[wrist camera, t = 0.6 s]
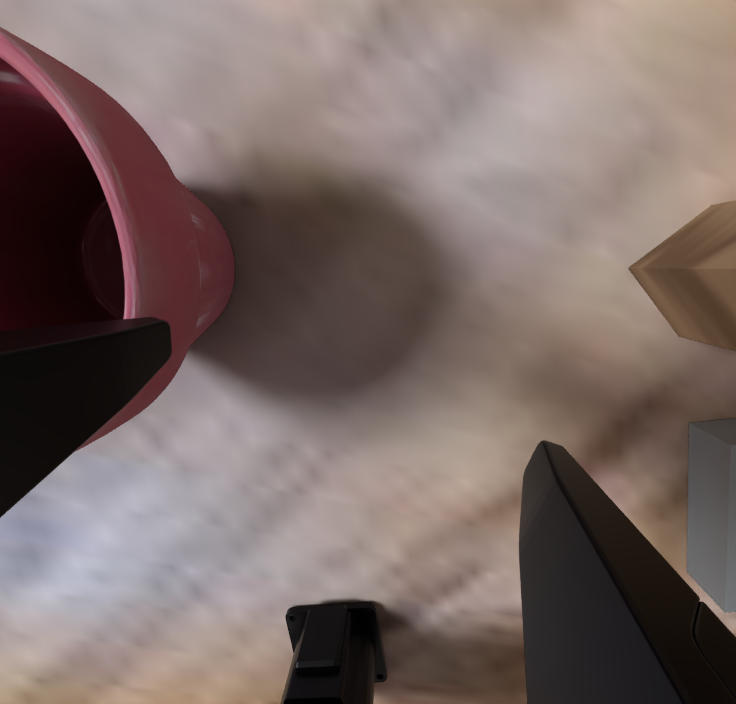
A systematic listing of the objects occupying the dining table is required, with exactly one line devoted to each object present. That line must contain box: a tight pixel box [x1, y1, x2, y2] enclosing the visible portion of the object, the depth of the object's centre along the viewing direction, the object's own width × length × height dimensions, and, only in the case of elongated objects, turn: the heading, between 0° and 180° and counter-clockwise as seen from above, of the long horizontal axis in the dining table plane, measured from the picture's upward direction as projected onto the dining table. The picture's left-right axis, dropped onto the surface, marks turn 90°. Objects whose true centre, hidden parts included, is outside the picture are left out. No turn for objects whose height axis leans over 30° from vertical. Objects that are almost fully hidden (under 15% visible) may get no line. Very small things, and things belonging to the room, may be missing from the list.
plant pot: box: [0, 27, 235, 451], centre depth 17 cm, size 14×14×13 cm
